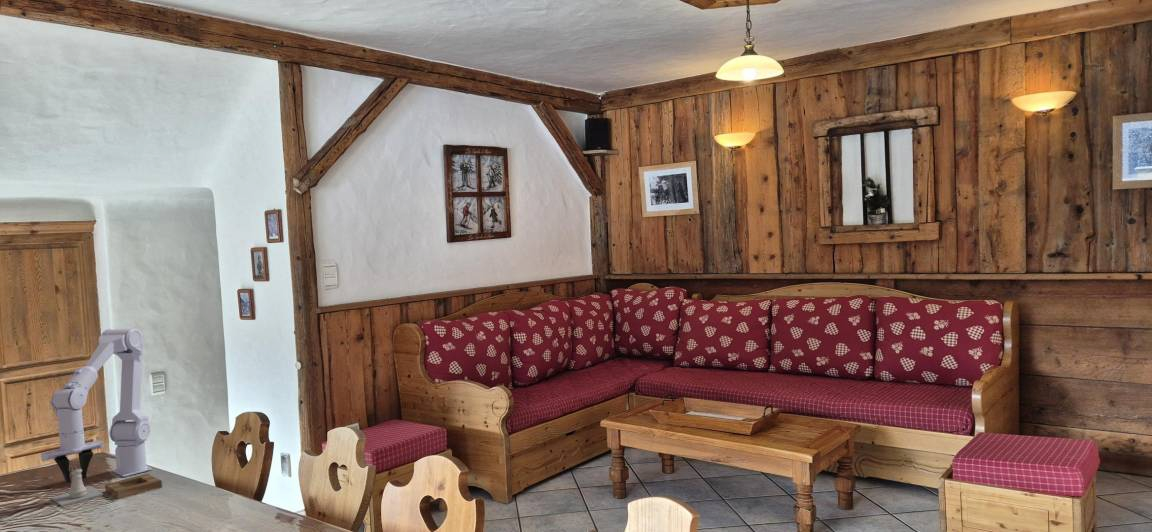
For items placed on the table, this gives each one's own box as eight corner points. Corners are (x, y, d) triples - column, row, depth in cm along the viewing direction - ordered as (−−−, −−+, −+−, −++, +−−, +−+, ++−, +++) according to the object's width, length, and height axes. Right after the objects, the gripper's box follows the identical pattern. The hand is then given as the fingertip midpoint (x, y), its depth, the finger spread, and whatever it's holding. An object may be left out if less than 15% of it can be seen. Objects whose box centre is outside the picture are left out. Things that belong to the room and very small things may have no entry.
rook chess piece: (78, 499, 207) (76, 470, 206) (64, 499, 208) (61, 470, 207) (91, 493, 211) (89, 465, 211) (77, 493, 212) (74, 465, 212)
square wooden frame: (105, 491, 214) (105, 484, 214) (147, 480, 222) (147, 473, 222) (118, 499, 207) (118, 492, 206) (162, 487, 215) (161, 480, 215)
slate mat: (51, 499, 210) (51, 497, 210) (92, 488, 217) (92, 486, 217) (61, 506, 203) (61, 504, 203) (103, 495, 210) (103, 493, 210)
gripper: (44, 440, 201) (48, 490, 202) (105, 427, 212) (109, 475, 212) (37, 436, 206) (41, 485, 206) (97, 424, 216) (101, 470, 217)
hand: (75, 479), depth 210 cm, fingers closed on rook chess piece, 3 cm apart
